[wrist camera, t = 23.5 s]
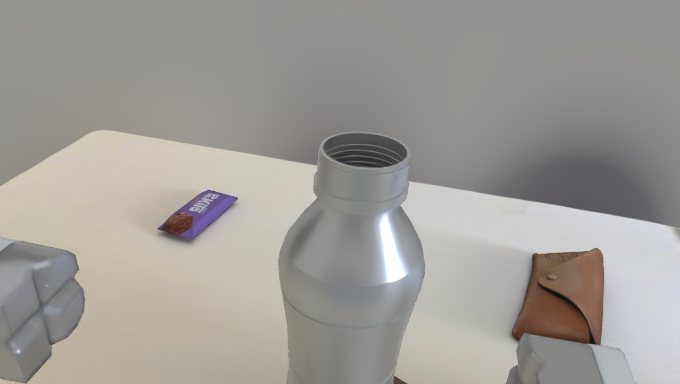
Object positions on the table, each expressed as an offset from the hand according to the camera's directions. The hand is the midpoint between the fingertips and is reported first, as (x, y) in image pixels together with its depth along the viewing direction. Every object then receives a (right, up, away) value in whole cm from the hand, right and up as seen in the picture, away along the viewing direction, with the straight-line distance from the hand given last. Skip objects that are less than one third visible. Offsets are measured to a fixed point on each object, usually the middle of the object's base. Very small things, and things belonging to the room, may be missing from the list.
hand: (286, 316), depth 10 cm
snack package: (-18, -2, +61) cm, 64 cm away
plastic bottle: (0, -14, +21) cm, 25 cm away
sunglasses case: (+26, -11, +51) cm, 58 cm away
